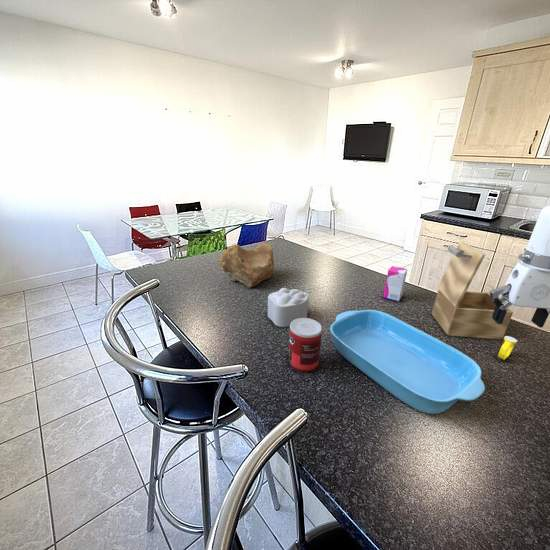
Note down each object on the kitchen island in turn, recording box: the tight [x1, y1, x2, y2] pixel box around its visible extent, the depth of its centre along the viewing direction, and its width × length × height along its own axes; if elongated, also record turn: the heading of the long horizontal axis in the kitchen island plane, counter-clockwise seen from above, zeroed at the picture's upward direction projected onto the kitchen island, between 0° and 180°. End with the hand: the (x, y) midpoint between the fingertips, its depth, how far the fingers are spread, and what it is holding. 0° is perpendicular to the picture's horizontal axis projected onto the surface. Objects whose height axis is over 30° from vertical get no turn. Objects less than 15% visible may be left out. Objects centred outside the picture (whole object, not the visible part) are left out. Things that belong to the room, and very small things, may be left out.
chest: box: [431, 289, 514, 340], centre depth 91 cm, size 16×13×9 cm
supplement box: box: [382, 265, 408, 303], centre depth 108 cm, size 6×6×12 cm
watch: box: [497, 335, 518, 361], centre depth 78 cm, size 6×3×6 cm, turn 125°
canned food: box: [287, 317, 323, 372], centre depth 73 cm, size 8×8×11 cm
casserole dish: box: [329, 309, 486, 415], centre depth 73 cm, size 37×22×7 cm, turn 35°
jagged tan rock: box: [219, 242, 275, 289], centre depth 117 cm, size 23×17×15 cm
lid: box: [437, 240, 486, 307], centre depth 86 cm, size 16×13×5 cm
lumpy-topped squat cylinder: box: [267, 287, 310, 328], centre depth 94 cm, size 10×13×9 cm
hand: (516, 322), depth 75 cm, fingers open, 9 cm apart
